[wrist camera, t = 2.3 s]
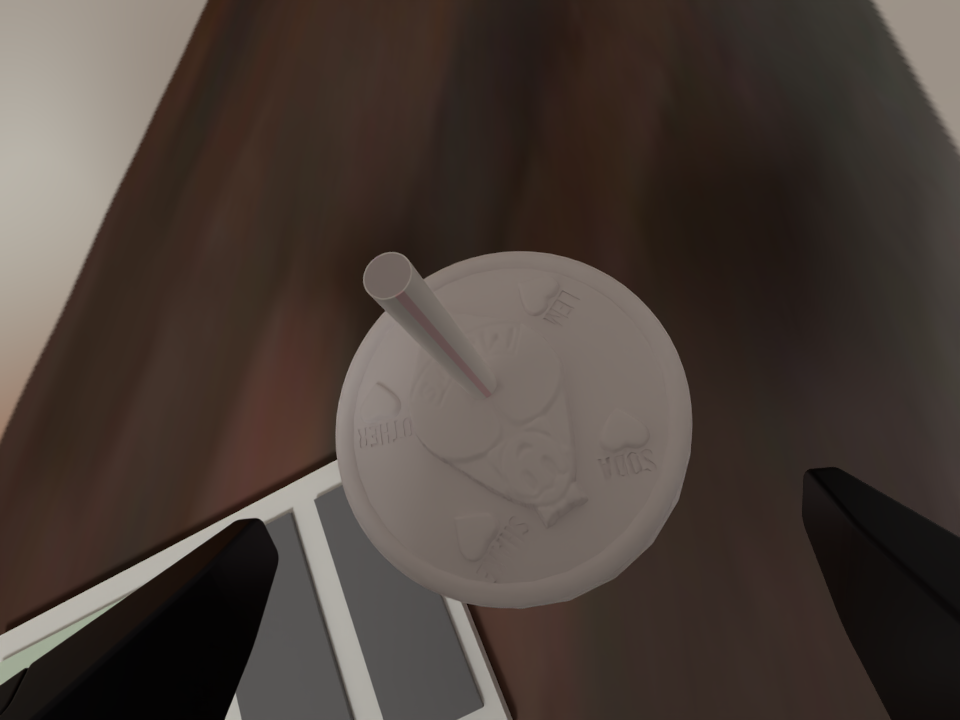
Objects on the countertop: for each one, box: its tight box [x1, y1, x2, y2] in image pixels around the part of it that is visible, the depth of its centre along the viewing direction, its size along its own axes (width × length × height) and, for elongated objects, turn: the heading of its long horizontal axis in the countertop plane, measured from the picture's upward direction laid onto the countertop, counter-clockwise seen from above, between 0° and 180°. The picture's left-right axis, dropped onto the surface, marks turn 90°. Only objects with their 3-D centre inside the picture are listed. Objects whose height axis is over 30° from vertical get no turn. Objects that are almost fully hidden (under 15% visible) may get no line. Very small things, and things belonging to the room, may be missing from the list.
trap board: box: [0, 460, 513, 720], centre depth 19 cm, size 10×18×1 cm, turn 114°
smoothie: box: [336, 251, 692, 609], centre depth 12 cm, size 6×6×14 cm
